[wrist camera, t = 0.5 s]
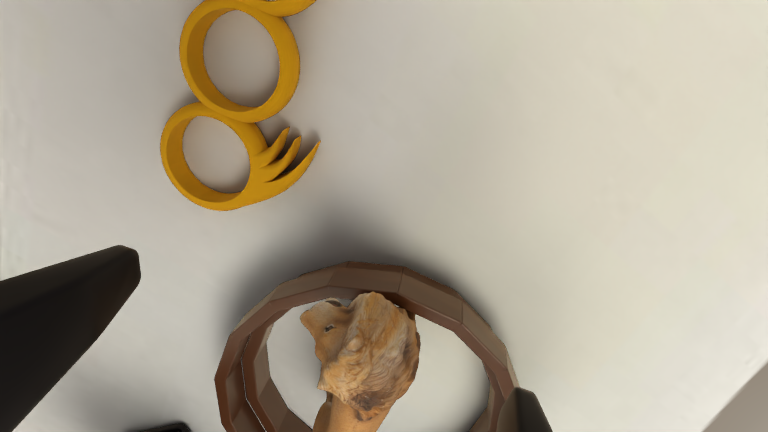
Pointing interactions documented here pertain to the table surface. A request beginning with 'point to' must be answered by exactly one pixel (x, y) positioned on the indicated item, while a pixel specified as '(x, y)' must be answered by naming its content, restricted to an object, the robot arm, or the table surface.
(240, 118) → the novelty glasses
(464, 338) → the ring
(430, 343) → the table surface
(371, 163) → the table surface
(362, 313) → the lion figurine
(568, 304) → the table surface
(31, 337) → the robot arm
